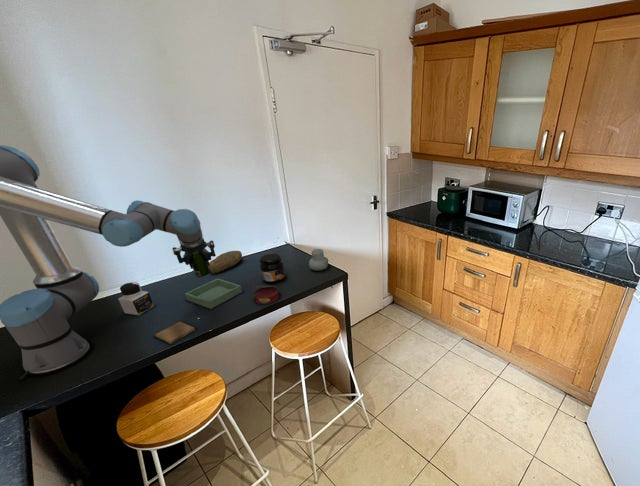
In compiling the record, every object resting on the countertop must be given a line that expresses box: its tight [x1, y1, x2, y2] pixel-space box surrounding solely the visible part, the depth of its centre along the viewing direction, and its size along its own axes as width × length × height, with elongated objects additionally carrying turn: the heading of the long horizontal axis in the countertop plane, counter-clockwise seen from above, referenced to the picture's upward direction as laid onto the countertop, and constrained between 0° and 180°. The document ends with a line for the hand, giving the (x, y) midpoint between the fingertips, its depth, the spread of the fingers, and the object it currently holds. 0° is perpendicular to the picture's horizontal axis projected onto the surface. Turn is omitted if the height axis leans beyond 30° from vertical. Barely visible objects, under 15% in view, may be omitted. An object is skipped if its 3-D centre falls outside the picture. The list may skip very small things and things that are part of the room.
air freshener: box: [308, 248, 329, 272], centre depth 161 cm, size 11×8×10 cm
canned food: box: [251, 284, 280, 305], centre depth 136 cm, size 11×10×10 cm
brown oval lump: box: [208, 250, 243, 275], centre depth 165 cm, size 13×8×20 cm
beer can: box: [190, 252, 211, 279], centre depth 128 cm, size 5×5×12 cm
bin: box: [184, 278, 243, 310], centre depth 138 cm, size 16×16×3 cm
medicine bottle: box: [117, 281, 155, 316], centre depth 126 cm, size 7×7×12 cm
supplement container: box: [258, 252, 286, 285], centre depth 150 cm, size 10×10×12 cm
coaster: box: [154, 321, 196, 344], centre depth 115 cm, size 9×9×1 cm
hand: (199, 264), depth 132 cm, fingers closed on beer can, 5 cm apart
